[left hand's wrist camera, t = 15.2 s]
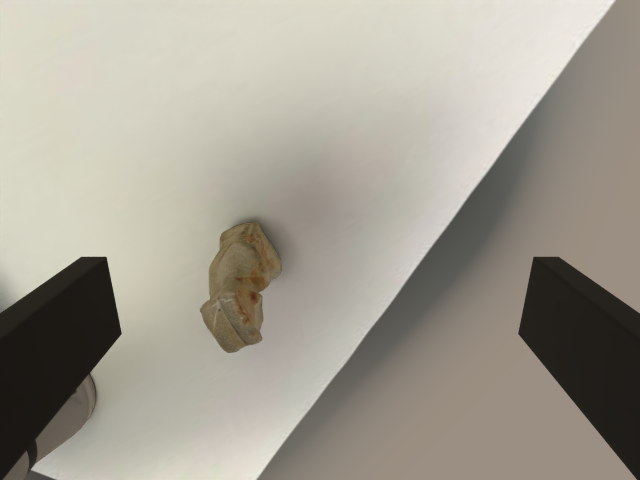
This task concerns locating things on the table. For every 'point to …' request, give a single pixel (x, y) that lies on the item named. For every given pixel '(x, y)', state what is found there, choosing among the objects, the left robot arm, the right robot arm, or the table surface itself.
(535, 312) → the left robot arm
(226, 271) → the sculpture
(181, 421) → the table surface
